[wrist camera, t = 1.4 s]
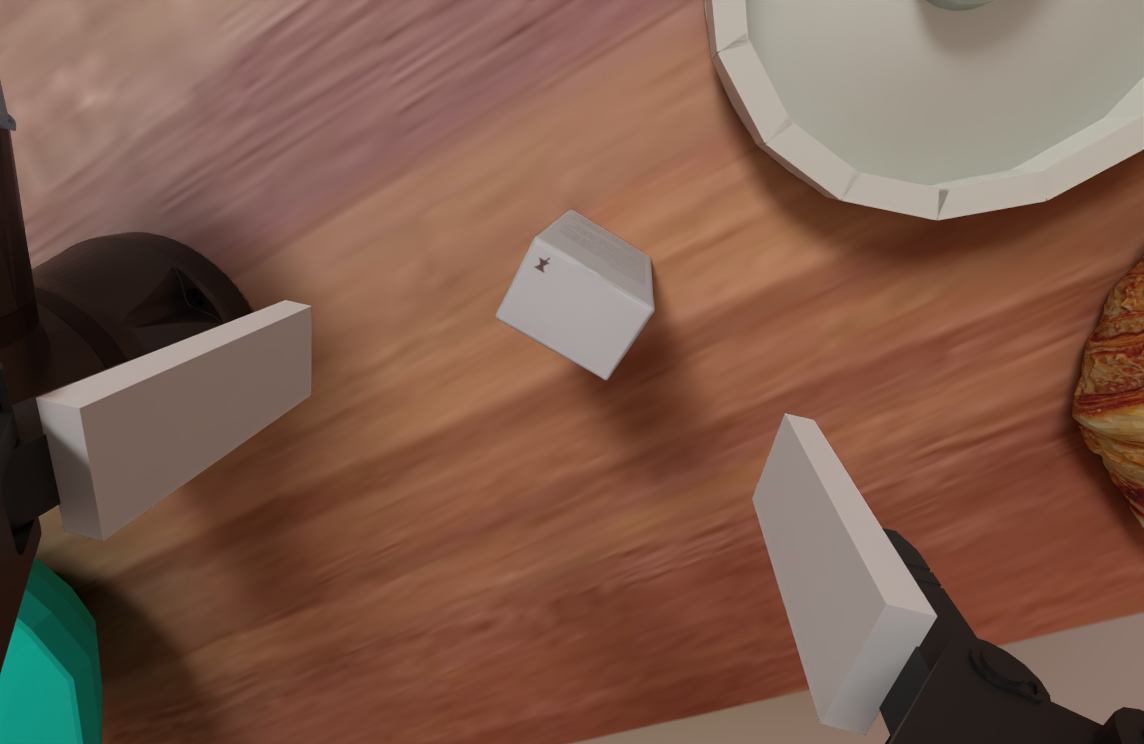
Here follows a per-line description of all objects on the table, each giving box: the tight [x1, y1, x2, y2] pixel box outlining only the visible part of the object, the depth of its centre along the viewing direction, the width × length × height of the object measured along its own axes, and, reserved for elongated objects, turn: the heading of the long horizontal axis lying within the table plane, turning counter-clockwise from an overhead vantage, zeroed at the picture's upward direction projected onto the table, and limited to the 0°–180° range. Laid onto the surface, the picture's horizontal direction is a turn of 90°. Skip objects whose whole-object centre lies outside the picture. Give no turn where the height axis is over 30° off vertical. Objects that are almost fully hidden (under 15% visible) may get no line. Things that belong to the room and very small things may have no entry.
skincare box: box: [496, 209, 655, 380], centre depth 29 cm, size 6×4×12 cm
